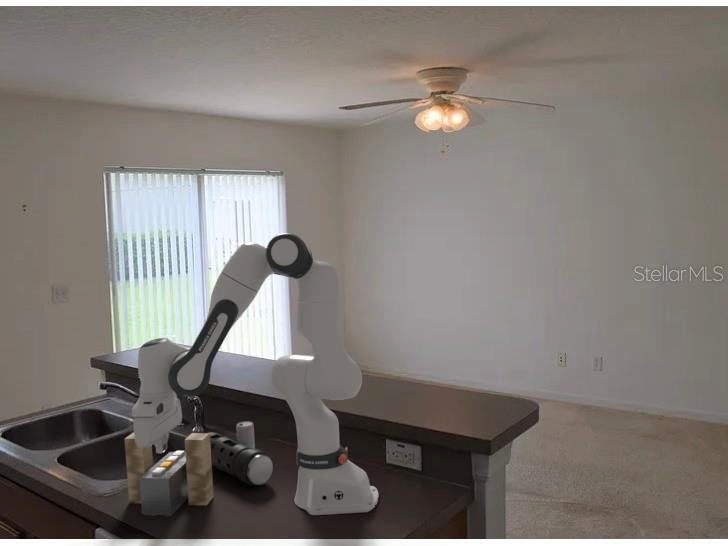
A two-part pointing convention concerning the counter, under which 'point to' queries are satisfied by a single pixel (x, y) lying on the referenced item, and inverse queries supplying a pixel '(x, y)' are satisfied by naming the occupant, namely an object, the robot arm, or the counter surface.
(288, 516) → the counter surface
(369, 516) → the counter surface
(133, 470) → the oak post
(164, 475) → the button box
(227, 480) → the counter surface
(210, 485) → the oak post
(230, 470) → the muzzle brake
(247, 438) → the energy drink
